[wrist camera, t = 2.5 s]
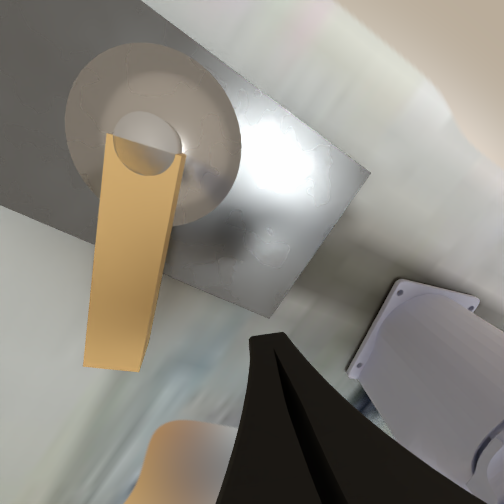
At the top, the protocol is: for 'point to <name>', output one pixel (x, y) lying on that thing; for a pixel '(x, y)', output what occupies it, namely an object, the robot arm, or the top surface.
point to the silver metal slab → (191, 134)
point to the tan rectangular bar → (132, 238)
